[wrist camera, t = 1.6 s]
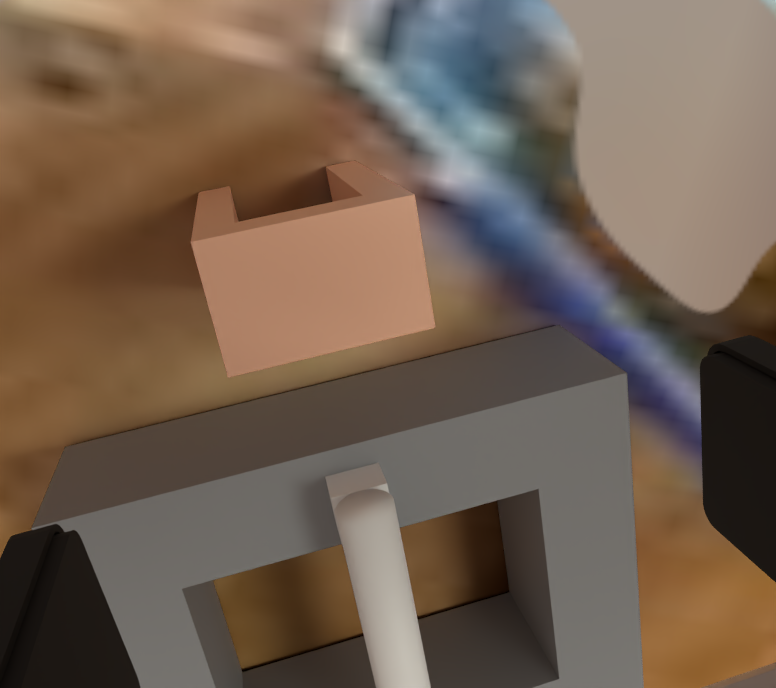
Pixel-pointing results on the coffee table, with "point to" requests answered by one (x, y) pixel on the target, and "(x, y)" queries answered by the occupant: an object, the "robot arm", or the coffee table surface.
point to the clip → (313, 272)
